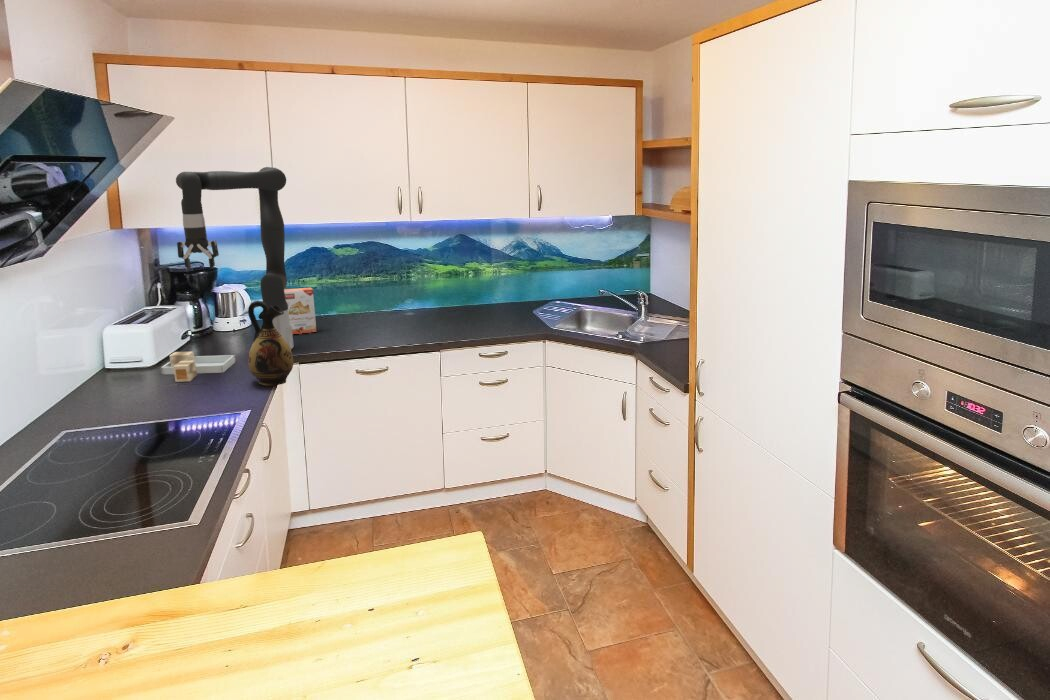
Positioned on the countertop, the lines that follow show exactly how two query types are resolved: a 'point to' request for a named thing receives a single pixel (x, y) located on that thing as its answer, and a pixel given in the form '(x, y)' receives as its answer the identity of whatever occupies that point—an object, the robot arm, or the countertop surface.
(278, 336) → the ceramic jug
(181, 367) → the orange-label box
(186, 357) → the tan rounded block
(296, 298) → the cracker box
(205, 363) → the white rectangular tray
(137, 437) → the countertop surface
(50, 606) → the countertop surface
